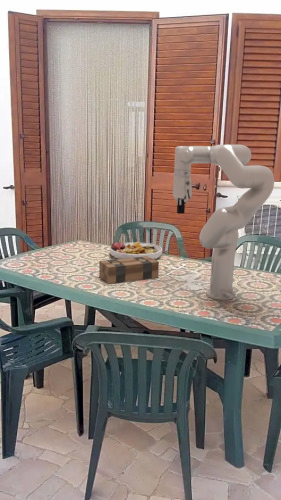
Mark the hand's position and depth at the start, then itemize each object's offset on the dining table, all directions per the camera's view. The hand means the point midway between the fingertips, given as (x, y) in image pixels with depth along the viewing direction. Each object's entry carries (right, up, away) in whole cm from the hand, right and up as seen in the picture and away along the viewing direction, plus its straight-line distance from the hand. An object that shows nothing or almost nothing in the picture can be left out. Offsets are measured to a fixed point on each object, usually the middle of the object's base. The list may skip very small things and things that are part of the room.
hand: (180, 213), depth 211 cm
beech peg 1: (-31, -31, +5) cm, 44 cm away
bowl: (-21, -21, +49) cm, 57 cm away
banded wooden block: (-24, -30, +8) cm, 40 cm away
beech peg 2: (-18, -30, +11) cm, 37 cm away
